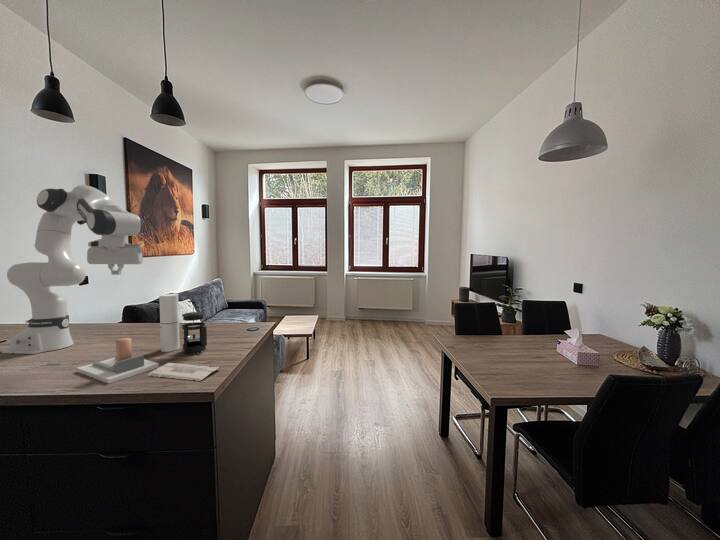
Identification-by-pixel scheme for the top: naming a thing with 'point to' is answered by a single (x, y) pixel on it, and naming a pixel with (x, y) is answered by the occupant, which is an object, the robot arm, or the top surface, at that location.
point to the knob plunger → (123, 349)
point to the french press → (194, 345)
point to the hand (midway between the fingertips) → (116, 274)
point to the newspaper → (183, 371)
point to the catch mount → (117, 368)
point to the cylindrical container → (169, 322)
